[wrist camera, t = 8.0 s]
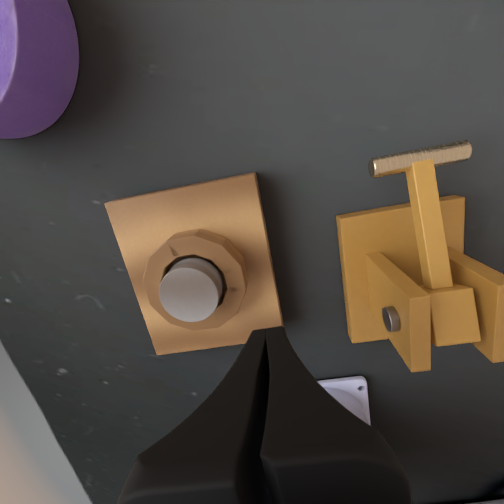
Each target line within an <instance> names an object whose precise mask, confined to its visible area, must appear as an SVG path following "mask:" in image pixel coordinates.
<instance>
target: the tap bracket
mask: <svg viewBox="0 0 504 504" xmlns="http://www.w3.org/2000/svg"><path fill="white" fill-rule="evenodd" d="M439 200H440V206H441V212H442V218H443V225H444V231H445V237H446V244H447V250H448V256H449V263H450V269H451V275H452V282H453V283H454V284H459V285H463V286H467V287H471V288H473V292H474V298H475V304H476V311H477V317H478V323H479V330H480V336H481V341H479V342H471V343H472V344H473V345H474V346H475V347H476V348H477V349H478V350H479V351H481V352H482V353H483V354H484V355H485V356H486V357H487V358H488V359H489V360H490V361H491V362H493V363H496V362H504V274H502V273H500V272H498V271H496V270H494V269H492V268H490V267H488V266H486V265H484V264H482V263H480V262H478V261H476V260H474V259H472V258H470V257H468V256H466V255H465V254H463V250H464V219H465V197H461V196H457V195H450V196H445V197H439ZM336 221H337V231H338V240H339V250H340V260H341V269H342V279H343V288H344V298H345V307H346V317H347V326H348V335H349V337H350V339H351V342H352V343H360V342H367V341H375V340H383V339H390V341H391V342H392V344H393V345H394V347H395V348H396V350H397V351H398V353H399V354H400V356H401V357H402V359H403V360H404V362H405V363H406V365H407V366H408V368H409V369H410V371H411V372H419V371H428V370H431V310H430V295H429V294H428V293H427V292H425V291H424V290H423V289H422V288H421V287H420V285H424V284H423V277H422V271H421V265H420V259H419V252H418V246H417V240H416V234H415V227H414V221H413V215H412V209H411V202H410V203H405V204H399V205H393V206H388V207H382V208H376V209H370V210H365V211H359V212H353V213H348V214H342V215H337V216H336Z"/></svg>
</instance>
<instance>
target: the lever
mask: <svg viewBox="0 0 504 504" xmlns="http://www.w3.org/2000/svg"><path fill="white" fill-rule="evenodd" d="M471 154H472V146H471V143H470V142H469V141H467V140H463V141H458V142H453V143H447V144H442V145H437V146H432V147H427V148H422V149H416V150H411V151H406V152H401V153H396V154H391V155H385V156H380V157H375V158H371V159H370V160H369V165H368V168H369V173H370V176H371V177H372V178H376V177H381V176H387V175H392V174H397V173H403V172H406V177H407V184H408V190H409V196H410V202H411V209H412V215H413V221H414V227H415V234H416V240H417V246H418V252H419V259H420V265H421V271H422V277H423V284H424V285H420V287H421V288H422V289H423V290H424V291H425V292H427V293H428V294H429V295H430V310H431V343H432V344H434V345H435V346H437V347H438V346H446V345H455V344H463V343H471V342H479V341H481V336H480V330H479V323H478V317H477V311H476V304H475V298H474V292H473V288H471V287H467V286H463V285H459V284H454V283H453V282H452V275H451V269H450V263H449V256H448V250H447V244H446V237H445V231H444V225H443V218H442V212H441V206H440V200H439V193H438V187H437V181H436V174H435V168H434V167H435V166H440V165H446V164H451V163H457V162H462V161H466V160H468V159H469V158H470V156H471Z"/></svg>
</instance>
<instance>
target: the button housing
mask: <svg viewBox="0 0 504 504" xmlns="http://www.w3.org/2000/svg"><path fill="white" fill-rule="evenodd" d="M104 204H105V207H106V210H107V213H108V216H109V219H110V221H111V224H112V227H113V230H114V233H115V236H116V239H117V242H118V244H119V247H120V250H121V253H122V256H123V259H124V262H125V265H126V267H127V270H128V273H129V276H130V279H131V282H132V285H133V288H134V290H135V293H136V296H137V299H138V302H139V305H140V308H141V311H142V313H143V316H144V319H145V322H146V325H147V328H148V331H149V334H150V336H151V339H152V342H153V345H154V348H155V351H156V354H157V355H162V354H170V353H177V352H185V351H192V350H200V349H207V348H215V347H222V346H230V345H237V344H245V343H246V342H247V340H248V338H249V336H250V334H251V332H252V331H253V330H257V329H264V328H271V327H278V326H282V327H284V325H283V318H282V312H281V307H280V301H279V296H278V290H277V285H276V279H275V274H274V268H273V263H272V257H271V252H270V246H269V241H268V235H267V230H266V224H265V219H264V213H263V208H262V202H261V197H260V191H259V186H258V180H257V175H256V172H251V173H246V174H241V175H236V176H231V177H226V178H221V179H216V180H211V181H205V182H200V183H195V184H190V185H185V186H180V187H175V188H170V189H165V190H160V191H155V192H150V193H144V194H139V195H134V196H129V197H124V198H119V199H116V200H113V201H110V202H106V203H104ZM187 258H199V259H203V260H205V261H207V262H209V263H211V264H212V265H213V266H214V267H215V268H216V269H217V270H218V272H219V273H220V275H221V278H222V282H223V289H222V293H221V296H220V299H219V302H218V305H217V307H216V309H215V311H214V312H213V313H212V314H211V315H210V316H209V317H207V318H206V319H204V320H201V321H197V322H185V321H181V320H179V319H176V318H174V317H173V316H171V315H170V314H169V313H168V312H167V311H166V310H165V309H164V307H163V306H162V304H161V301H160V298H159V286H160V283H161V281H162V279H163V278H164V277H165V275H166V274H167V273H168V272H169V271H170V269H171V268H172V267H173V266H174V265H175V264H176V263H177V262H179V261H181V260H183V259H187Z"/></svg>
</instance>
